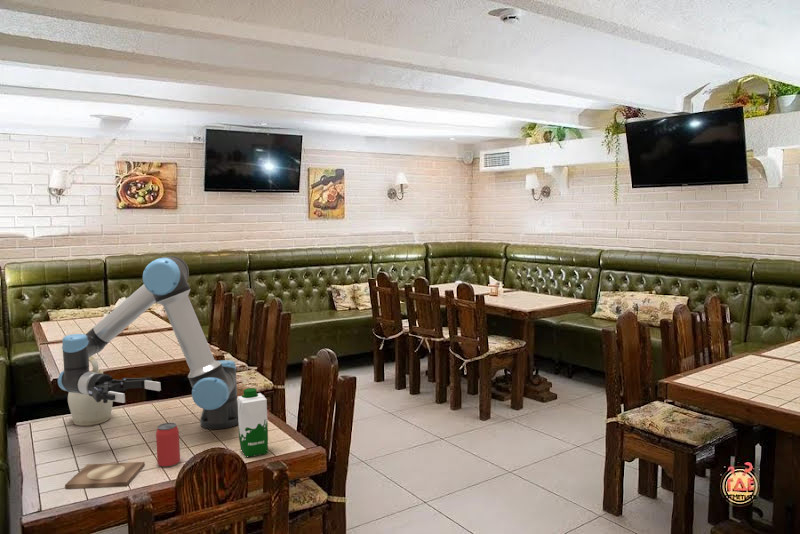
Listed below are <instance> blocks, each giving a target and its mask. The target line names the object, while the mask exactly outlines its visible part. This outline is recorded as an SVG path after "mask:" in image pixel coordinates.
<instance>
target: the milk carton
mask: <svg viewBox="0 0 800 534" xmlns="http://www.w3.org/2000/svg"><path fill="white" fill-rule="evenodd" d="M267 400H268V399H267V398H266V397H265V395H264V394H262V393H261V392H258V393H257V388H254V387H252V388H251V387H249V388H245V389H244V390H243V394H242V395H240V396H239V395H237V401H238V440H239V446H240V451H241V450H242V451H241V453H242V452H243V453H244V454H243V453H242V454H243V456H244V455H245V456H246V457H247V456H253V457H255V456H254V455H258V456H260V455H259V454H263V455H267V454H266V453H269V451H268V449H269V428H268V427H269V426H268V403H267V402H268V401H267ZM245 456H244V457H245ZM246 457H245V458H246Z"/></svg>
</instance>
